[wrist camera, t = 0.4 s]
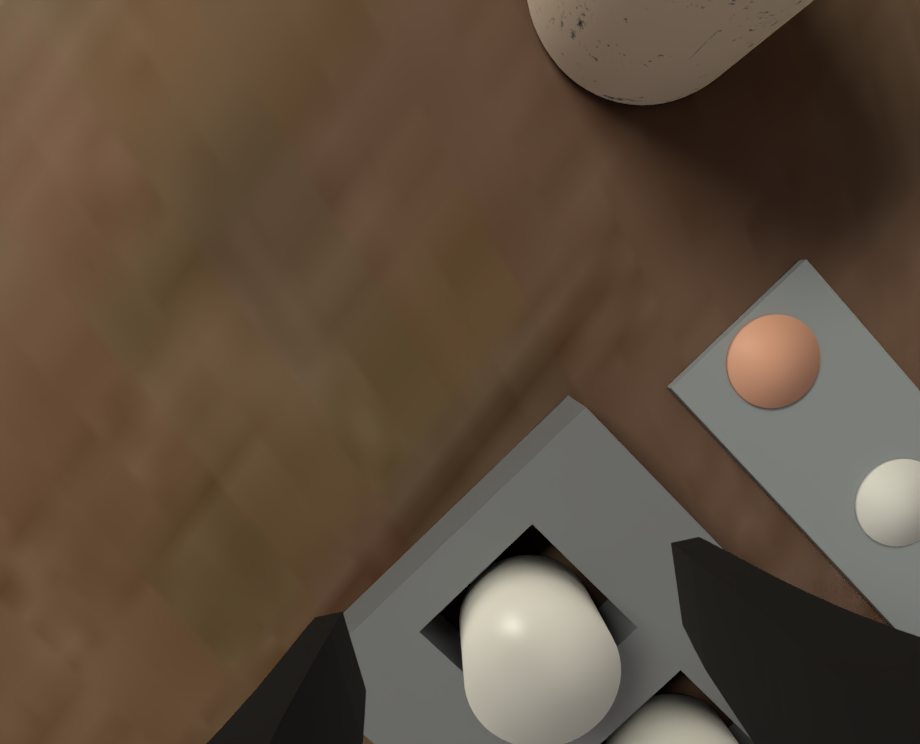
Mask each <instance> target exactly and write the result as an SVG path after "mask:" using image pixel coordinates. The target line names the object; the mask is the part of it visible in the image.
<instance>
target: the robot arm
mask: <svg viewBox="0 0 920 744" xmlns="http://www.w3.org/2000/svg"><path fill="white" fill-rule="evenodd" d="M671 547H672V554H673V562H674V569H675V576H676V583H677V590H678V597H679V604H680V611H681V618H682V625H683V627H684V629H685V631H686V633H687V635H688V637H689V639H690V641H691V643H692V645H693V647H694V649H695V651H696V653H697V655H698V657H699V659H700V661H701V662H702V664H703V666H704V668H705V670H706V672H707V673H708V675H709V676H710V678H711V679H712V681H713V682H714V684H715V685H716V687H717V688H718V690H719V691H720V693H721V694H722V696H723V698H724V699H725V701H726V702H727V704H728V705H729V707H730V708H731V710H732V711H733V713H734V714H735V716H736V717H737V719H738V720H739V722H740V723H741V725H742V726H743V728H744V729H745V731H746V732H747V734H748V735H749V737H750V738H751V739H752V741H753V742H754V744H920V637H919V636H916V635H913V634H910V633H907V632H904V631H901V630H898V629H895V628H893V627H890V626H887V625H885V624H882V623H879V622H877V621H874V620H871V619H869V618H866V617H863V616H861V615H858V614H855V613H853V612H851V611H848V610H846V609H843V608H841V607H839V606H836V605H834V604H832V603H830V602H827V601H825V600H823V599H821V598H818V597H816V596H814V595H812V594H809V593H807V592H805V591H803V590H801V589H799V588H797V587H795V586H793V585H790V584H788V583H786V582H784V581H782V580H780V579H778V578H776V577H774V576H772V575H771V574H769V573H767V572H765V571H763V570H761V569H759V568H757V567H755V566H753V565H751V564H749V563H748V562H746V561H744V560H742V559H740V558H738V557H736V556H735V555H733V554H731V553H729V552H727V551H725V550H724V549H722V548H720V547H718V546H716V545H714V544H712V543H710V542H708V541H707V540H704V539H702V538H700V537H696V538H691V539H686V540H682V541H677V542H672V543H671ZM365 703H366V688H365V685H364V681H363V678H362V675H361V671H360V668H359V665H358V661H357V658H356V655H355V651H354V648H353V645H352V641H351V638H350V635H349V631H348V628H347V625H346V621H345V618H344V615H343V612H339V613H334V614H329V615H325V616H320V617H315V618H314V620H313V621H312V622H311V623H310V624H309V625H308V626H307V628H306V629H305V630H304V631H303V632H302V634H301V635H300V636H299V637H298V639H297V640H296V641H295V642H294V644H293V645H292V646H291V647H290V649H289V650H288V651H287V652H286V654H285V655H284V656H283V657H282V659H281V660H280V661H279V662H278V663H277V665H276V666H275V667H274V668H273V670H272V671H271V672H270V673H269V674H268V676H267V677H266V678H265V679H264V680H263V682H262V683H261V684H260V685H259V687H258V688H257V689H256V690H255V691H254V692H253V693H252V695H251V696H250V697H249V698H248V699H247V700H246V701H245V702H244V704H243V705H242V706H241V707H240V708H239V709H238V710H237V711H236V712H235V714H234V715H233V716H232V717H231V718H230V719H229V720H228V721H227V723H226V724H225V725H224V726H223V727H222V728H221V729H220V730H219V731H218V732H217V733H216V735H215V736H214V737H213V738H212V739H211V740H210V741H209V742H208V743H207V744H362V743H363V733H364V721H365Z"/></svg>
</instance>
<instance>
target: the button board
mask: <svg viewBox="0 0 920 744" xmlns="http://www.w3.org/2000/svg"><path fill="white" fill-rule="evenodd" d="M532 524H533V525H534V526H535V527H536V528H537V529H538V530H539V531H540V532H541V533H542V534H543V535H544V536H545V537H546V538H547V539H548V540H549V541H550V542H551V543H552V544H553V545H554V546H555V547H556V548H557V549H558V550H559V551H560V552H561V553H562V554H563V555H564V556H565V557H566V558H567V559H568V560H569V561H570V562H571V563H572V564H573V565H574V566H575V567H576V568H577V569H578V570H579V571H580V572H581V573H582V574H583V575H584V576H585V577H586V578H587V579H589V580H590V581H591V582H592V583H593V584H594V585H595V586H596V587H597V588H598V589H599V590H600V591H601V592H602V593H603V594H604V595H605V596H606V597H607V598H608V600H607V601H606V602H604V603H603V604H602V605H601V606H600V607H599V608H598V609H597V610H598V612H599V613H600V615H601V617H602V619H603V621H604V623H605V624H606V626H607V628H608V630H609V632H610V634H611V636H612V637H613V640H614V642H615V644H616V646H617V649H618V652H619V656H620V662H621V679H620V685H619V689H618V693H617V695H616V698H615V700H614V702H613V704H612V706H611V708H610V709H609V711H608V712H607V714H606V715H605V716H604V718H603V719H602V720H601V721H600V722H599V723H598V724H597V725H596V726H595V727H594V728H592V729H591V730H590V731H589V732H587V733H586V734H584V735H583V736H581V737H579V738H577V739H575V740H573V741H571V742H568V743H565V744H601V743H602V742H603V741H604V740H605V739H606V738H607V737H608V736H609V735H611V734H612V733H613V732H614V731H615V730H616V729H617V728H618V727H619V726H620V725H621V724H623V723H624V722H625V721H626V720H627V719H628V718H629V717H630V716H631V715H632V714H633V713H634V712H636V711H637V710H638V709H639V708H640V707H641V706H642V705H643V704H644V703H645V702H646V701H648V700H649V699H650V698H651V697H652V696H653V695H654V694H655V693H656V692H657V691H658V690H659V689H661V688H662V687H663V686H664V685H665V684H666V683H667V682H668V681H669V680H670V679H671V678H672V677H674V676H675V675H676V674H677V673H678V672H679V671H680V670H681V671H682V672H683V673H684V674H685V675H686V676H687V677H688V678H689V679H690V680H691V681H692V682H693V683H694V684H695V685H696V686H697V687H698V688H699V689H700V690H701V691H702V692H704V693H705V694H706V695H707V696H708V697H709V698H710V699H711V700H712V701H713V702H714V703H715V704H716V705H717V706H718V707H719V708H720V709H721V710H722V711H723V712H724V713H725V714H726V715H727V716H728V717H729V718H730V719H731V720H732V721H733V722H734V723H733V724H732V725H731V726H729V727H728V729H729V730H730V732H731V733H732V735H733V736H734V737H735V739H736V740H737V742H738V743H739V744H754V742H753V741H752V739H751V738H750V737H749V735H748V734H747V732H746V731H745V729H744V728H743V726H742V725H741V723H740V722H739V720H738V719H737V717H736V716H735V714H734V713H733V711H732V710H731V708H730V707H729V705H728V704H727V702H726V701H725V699H724V698H723V696H722V694H721V693H720V691H719V690H718V688H717V687H716V685H715V684H714V682H713V681H712V679H711V678H710V676H709V675H708V673H707V672H706V670H705V668H704V666H703V664H702V662H701V661H700V659H699V657H698V655H697V653H696V651H695V649H694V647H693V645H692V643H691V641H690V639H689V637H688V635H687V633H686V631H685V629H684V627H683V625H682V618H681V611H680V604H679V597H678V590H677V583H676V576H675V569H674V562H673V554H672V547H671V543H672V542H677V541H682V540H686V539H691V538H696V537H700V538H702V539H704V540H707V541H708V542H710V543H712V544H714V545H716V546H718V547H720V545H719V544H718V543H717V542H716V541H715V540H714V539H713V538H712V537H711V536H710V535H709V534H708V533H707V532H706V531H705V530H704V529H703V528H702V527H701V526H700V525H699V524H698V523H697V522H696V521H695V520H694V519H693V518H692V516H691V515H690V514H689V513H688V512H687V511H686V510H685V509H684V508H683V507H682V506H681V505H680V504H679V503H678V502H677V501H676V500H675V499H674V498H673V497H672V496H671V495H670V494H669V493H668V492H667V491H666V490H665V489H664V487H663V486H662V485H661V484H660V483H659V482H658V481H657V480H656V479H655V478H654V477H653V476H652V475H651V474H650V473H649V472H648V471H647V470H646V469H645V468H644V467H643V466H642V465H641V464H640V463H639V462H638V461H637V460H636V458H635V457H634V456H633V455H632V454H631V453H630V452H629V451H628V450H627V449H626V448H625V447H624V446H623V445H622V444H621V443H620V442H619V441H618V440H617V439H616V438H615V437H614V436H613V435H612V434H611V433H610V432H609V430H608V429H607V428H606V427H605V426H604V425H603V424H602V423H601V422H600V421H599V420H598V419H597V418H596V417H595V416H594V415H593V414H592V413H591V412H590V411H589V410H588V409H587V408H586V407H585V406H583V405H582V404H580V403H579V402H577V401H576V400H574V399H573V398H571V397H570V396H567V397H566V398H565V399H564V400H563V401H562V402H561V403H560V404H559V405H558V406H557V407H556V408H555V409H554V410H553V411H552V412H551V413H550V414H549V415H548V416H547V417H546V418H545V419H544V420H543V421H542V422H541V423H540V424H538V425H537V426H536V427H535V428H534V429H533V430H532V431H531V432H530V433H529V434H528V435H527V436H526V437H525V438H524V439H523V440H522V441H521V442H520V443H519V444H518V445H517V446H516V447H515V448H514V449H513V450H512V451H511V452H509V453H508V454H507V455H506V456H505V457H504V458H503V459H502V460H501V461H500V462H499V463H498V464H497V465H496V466H495V467H494V468H493V469H492V470H491V471H490V472H489V473H488V474H487V475H486V476H485V477H484V478H483V479H482V480H481V481H479V482H478V483H477V484H476V485H475V486H474V487H473V488H472V489H471V490H470V491H469V492H468V493H467V494H466V495H465V496H464V497H463V498H462V499H461V500H460V501H459V502H458V503H457V504H456V505H455V506H454V507H453V508H452V509H450V510H449V511H448V512H447V513H446V514H445V515H444V516H443V517H442V518H441V519H440V520H439V521H438V522H437V523H436V524H435V525H434V526H433V527H432V528H431V529H430V530H429V531H428V532H427V533H426V534H425V535H424V536H423V537H422V538H420V539H419V540H418V541H417V542H416V543H415V544H414V545H413V546H412V547H411V548H410V549H409V550H408V551H407V552H406V553H405V554H404V555H403V556H402V557H401V558H400V559H399V560H398V561H397V562H396V563H395V564H394V565H393V566H391V567H390V568H389V569H388V570H387V571H386V572H385V573H384V574H383V575H382V576H381V577H380V578H379V579H378V580H377V581H376V582H375V583H374V584H373V585H372V586H371V587H370V588H369V589H368V590H367V591H366V592H365V593H364V594H362V595H361V596H360V597H359V598H358V599H357V600H356V601H355V602H354V603H353V604H352V605H351V606H350V607H349V608H348V609H347V610H346V611H345V612H344V613H343V615H344V618H345V621H346V625H347V628H348V631H349V635H350V638H351V641H352V645H353V648H354V651H355V655H356V658H357V661H358V665H359V668H360V671H361V675H362V678H363V681H364V685H365V688H366V703H365V721H364V733H363V734H364V735H365V736H366V737H367V738H368V739H369V740H370V741H372V742H373V743H374V744H512V743H509V742H507V741H505V740H502V739H501V738H499V737H497V736H496V735H494V734H493V733H491V732H490V731H489V730H488V729H486V728H485V727H484V726H483V725H482V723H481V722H480V721H479V720H478V719H477V717H476V716H475V714H474V713H473V711H472V709H471V707H470V705H469V702H468V700H467V697H466V692H465V687H464V675H463V663H462V651H461V639H460V632H459V631H458V630H457V629H456V628H455V627H454V626H453V625H452V624H451V623H450V622H449V621H447V620H446V619H445V618H444V617H443V616H442V615H441V614H440V613H439V612H440V611H442V610H443V609H444V608H445V607H446V606H447V605H448V604H449V603H450V602H451V601H452V600H453V599H454V598H455V597H456V596H457V595H458V594H459V593H460V592H461V591H462V590H464V589H465V588H466V587H467V586H468V585H469V584H470V583H471V582H472V581H473V580H474V579H475V578H476V577H477V576H478V575H479V574H480V573H481V572H482V571H483V570H484V569H486V568H487V567H488V566H489V565H490V564H491V563H492V562H493V561H494V560H495V559H496V558H497V557H498V556H499V555H500V554H501V553H502V552H503V551H504V550H505V549H506V548H508V547H509V546H510V545H511V544H512V543H513V542H514V541H515V540H516V539H517V538H518V537H519V536H520V535H521V534H522V533H523V532H524V531H525V530H526V529H527V528H528V527H530V526H531V525H532ZM720 548H721V547H720Z"/></svg>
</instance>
